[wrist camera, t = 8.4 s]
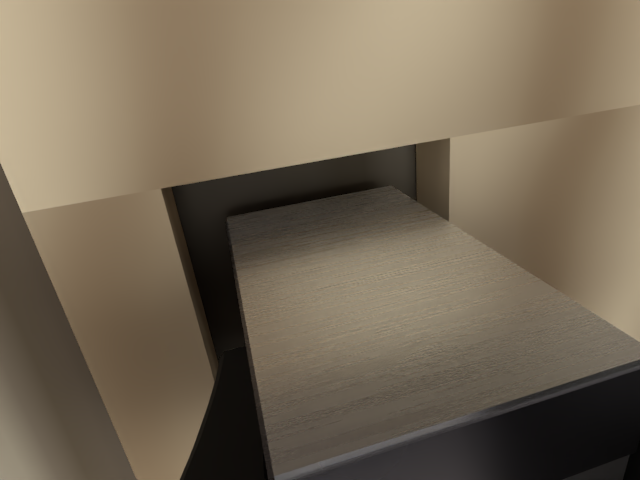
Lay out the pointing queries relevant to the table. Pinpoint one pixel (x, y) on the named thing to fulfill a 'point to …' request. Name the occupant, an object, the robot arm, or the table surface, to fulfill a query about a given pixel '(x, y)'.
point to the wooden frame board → (306, 154)
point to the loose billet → (421, 352)
